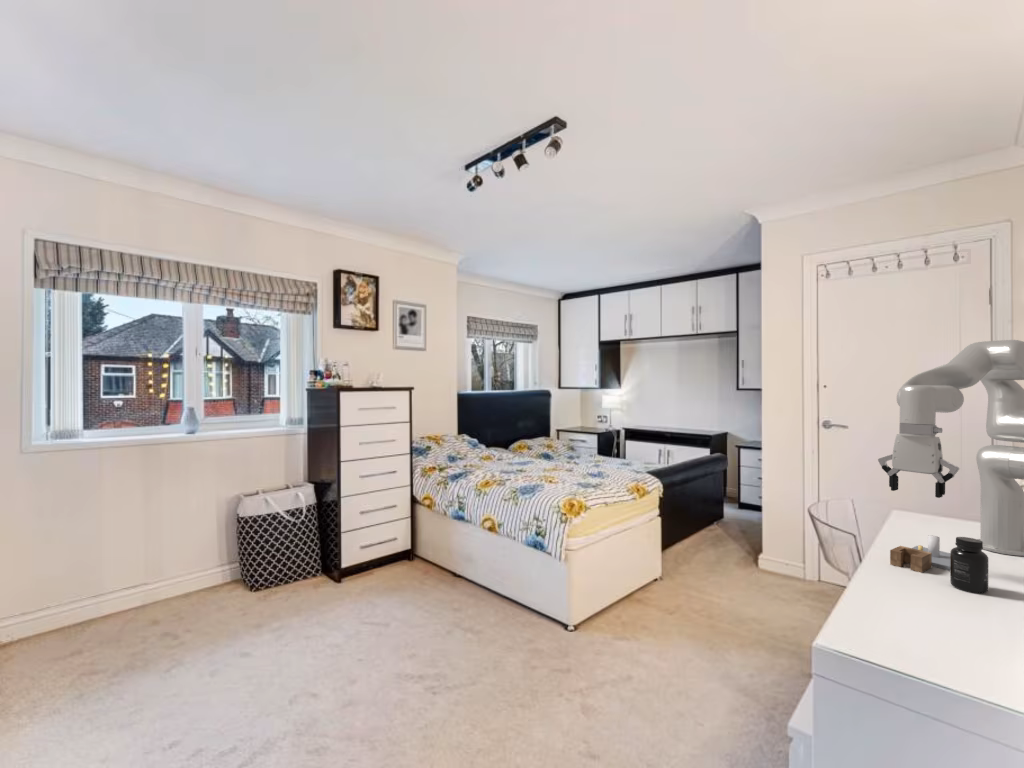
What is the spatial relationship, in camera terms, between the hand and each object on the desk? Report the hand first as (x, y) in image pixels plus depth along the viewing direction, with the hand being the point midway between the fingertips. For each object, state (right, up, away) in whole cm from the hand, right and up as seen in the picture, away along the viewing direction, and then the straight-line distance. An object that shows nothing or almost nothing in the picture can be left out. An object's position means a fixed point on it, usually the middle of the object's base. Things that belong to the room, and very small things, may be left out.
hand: (916, 493), depth 131 cm
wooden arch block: (0, -20, +2) cm, 21 cm away
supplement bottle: (+2, -21, -13) cm, 24 cm away
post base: (+11, -21, +7) cm, 24 cm away
